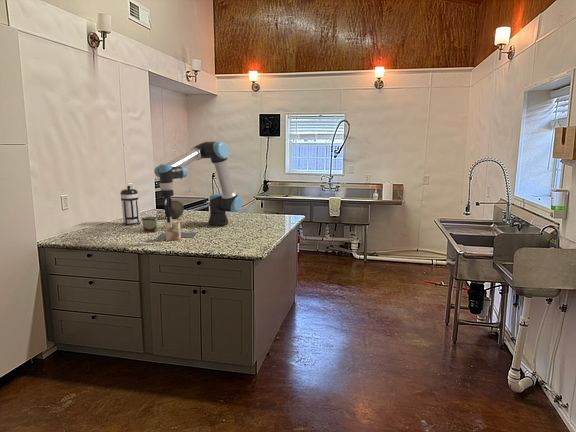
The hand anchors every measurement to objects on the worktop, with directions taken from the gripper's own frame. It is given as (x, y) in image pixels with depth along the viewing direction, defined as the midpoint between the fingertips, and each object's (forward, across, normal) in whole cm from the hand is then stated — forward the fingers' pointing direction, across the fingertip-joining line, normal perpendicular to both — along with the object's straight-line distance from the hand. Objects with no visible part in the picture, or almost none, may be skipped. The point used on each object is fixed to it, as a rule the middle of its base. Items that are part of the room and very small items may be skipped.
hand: (169, 227), depth 251 cm
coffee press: (+11, -65, -43) cm, 78 cm away
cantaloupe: (+11, -85, -14) cm, 86 cm away
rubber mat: (+10, -21, 0) cm, 23 cm away
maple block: (+10, -10, 0) cm, 14 cm away
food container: (+11, -38, -21) cm, 44 cm away
